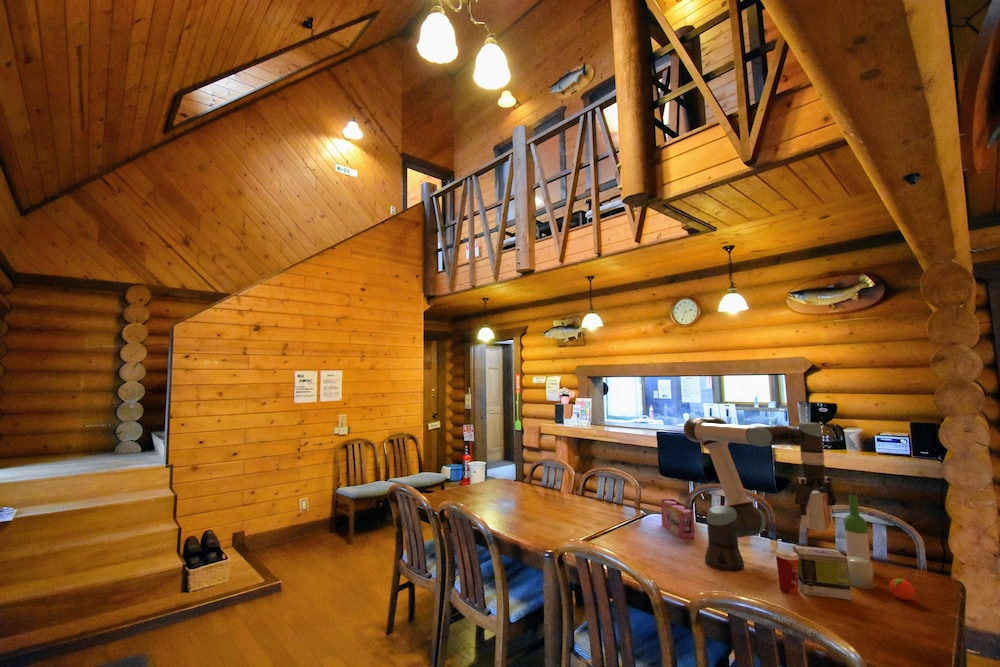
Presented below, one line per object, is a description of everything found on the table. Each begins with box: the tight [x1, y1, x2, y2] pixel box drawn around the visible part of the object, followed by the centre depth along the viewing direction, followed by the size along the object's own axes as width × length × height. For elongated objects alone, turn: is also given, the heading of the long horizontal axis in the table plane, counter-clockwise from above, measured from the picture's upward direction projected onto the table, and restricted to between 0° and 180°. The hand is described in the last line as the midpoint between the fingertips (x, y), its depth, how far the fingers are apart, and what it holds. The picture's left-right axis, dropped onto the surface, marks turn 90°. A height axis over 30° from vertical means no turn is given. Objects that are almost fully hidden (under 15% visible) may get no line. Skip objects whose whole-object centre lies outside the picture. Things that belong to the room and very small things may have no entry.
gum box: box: [660, 498, 695, 539], centre depth 238 cm, size 24×8×14 cm, turn 4°
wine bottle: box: [843, 494, 871, 562], centre depth 190 cm, size 8×8×30 cm
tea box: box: [792, 545, 853, 601], centre depth 168 cm, size 15×10×15 cm, turn 71°
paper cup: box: [774, 549, 799, 596], centre depth 168 cm, size 8×8×14 cm
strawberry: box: [889, 577, 916, 601], centre depth 162 cm, size 8×7×7 cm
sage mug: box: [845, 555, 874, 590], centre depth 174 cm, size 10×8×9 cm
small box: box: [804, 490, 830, 532], centre depth 171 cm, size 8×6×13 cm
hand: (817, 523), depth 170 cm, fingers closed on small box, 10 cm apart
